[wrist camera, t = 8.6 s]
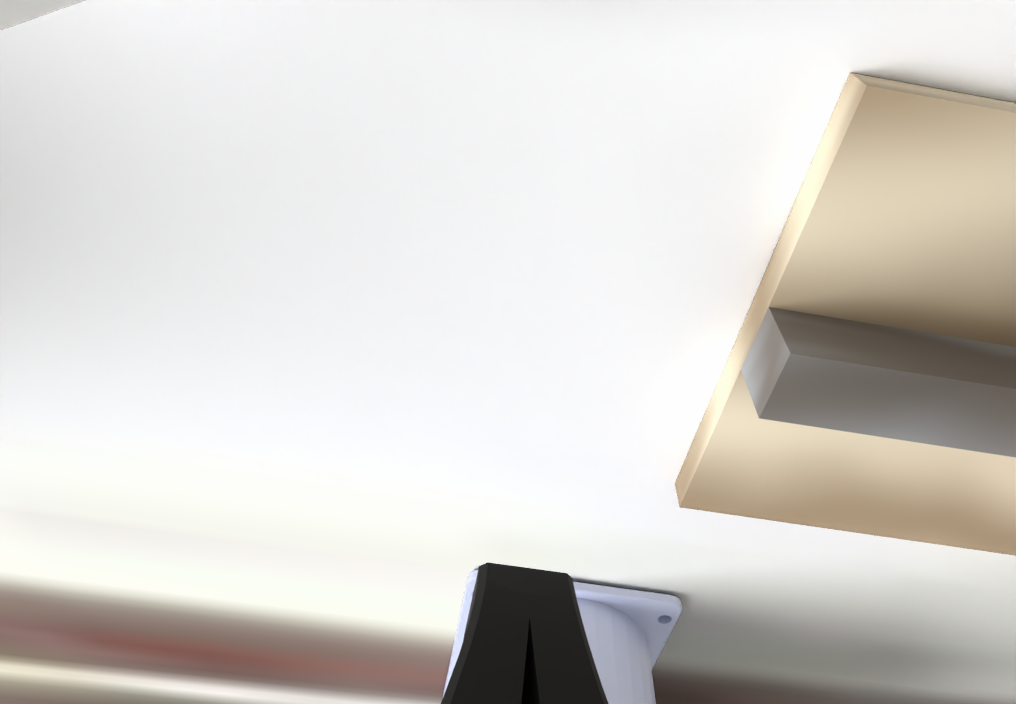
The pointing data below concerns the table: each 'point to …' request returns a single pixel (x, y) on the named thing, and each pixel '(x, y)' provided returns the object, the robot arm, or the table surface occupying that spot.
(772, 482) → the rail board
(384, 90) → the table surface
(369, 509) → the table surface
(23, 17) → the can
